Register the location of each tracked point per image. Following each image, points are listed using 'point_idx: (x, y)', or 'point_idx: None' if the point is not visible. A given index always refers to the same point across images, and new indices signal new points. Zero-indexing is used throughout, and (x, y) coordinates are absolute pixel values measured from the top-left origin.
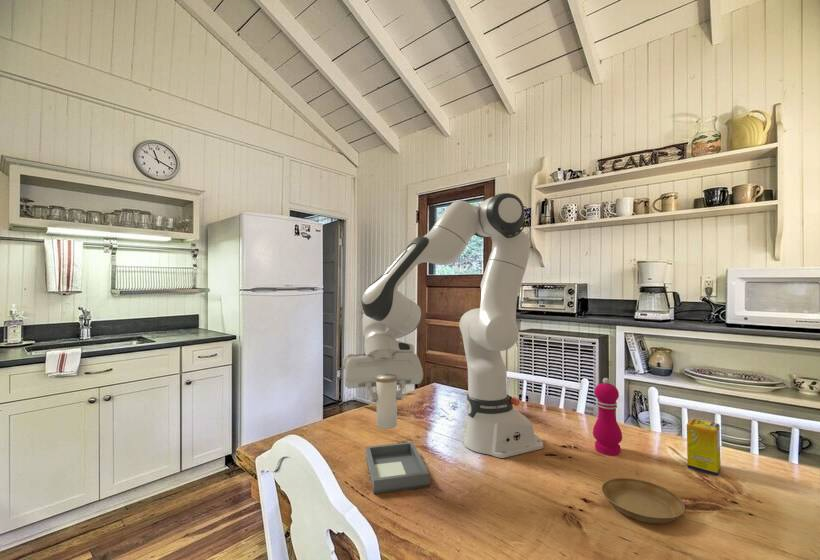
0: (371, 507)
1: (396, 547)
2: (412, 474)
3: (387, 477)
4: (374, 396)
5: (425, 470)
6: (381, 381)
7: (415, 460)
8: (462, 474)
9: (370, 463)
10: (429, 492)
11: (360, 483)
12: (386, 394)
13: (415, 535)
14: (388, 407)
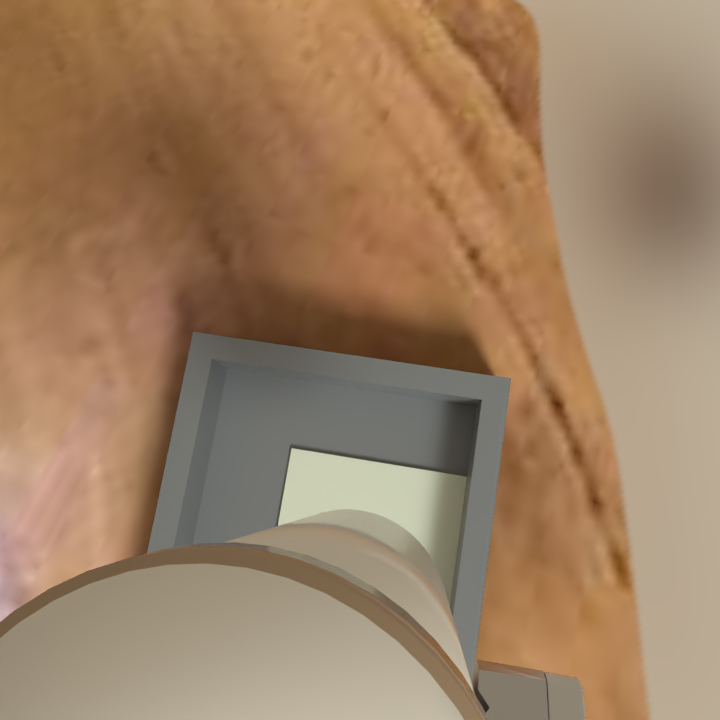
0: (537, 286)
1: (506, 20)
2: (283, 357)
3: (425, 382)
4: (523, 703)
5: (198, 372)
6: (430, 639)
7: None
8: (6, 389)
9: (478, 591)
10: (238, 300)
11: (545, 521)
12: (342, 544)
13: (416, 54)
14: (337, 520)
